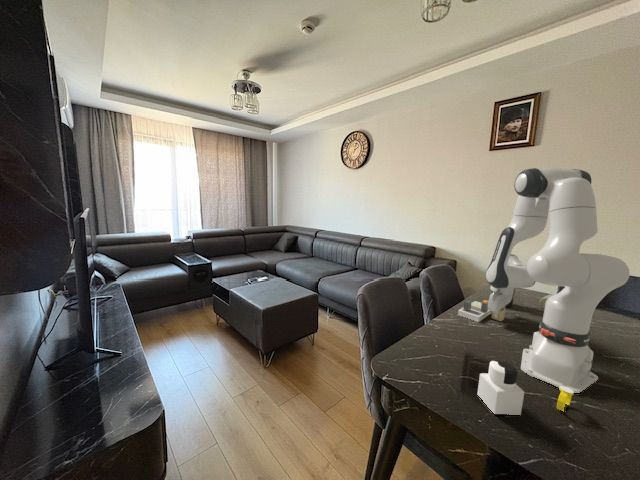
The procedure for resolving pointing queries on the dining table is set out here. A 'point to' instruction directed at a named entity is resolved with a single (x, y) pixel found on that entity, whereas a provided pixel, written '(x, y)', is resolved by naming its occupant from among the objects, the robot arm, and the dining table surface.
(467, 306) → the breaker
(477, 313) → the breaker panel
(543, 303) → the ceramic mug
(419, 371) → the dining table surface
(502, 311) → the tan block with knob
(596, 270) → the robot arm
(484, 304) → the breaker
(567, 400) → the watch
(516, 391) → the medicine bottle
